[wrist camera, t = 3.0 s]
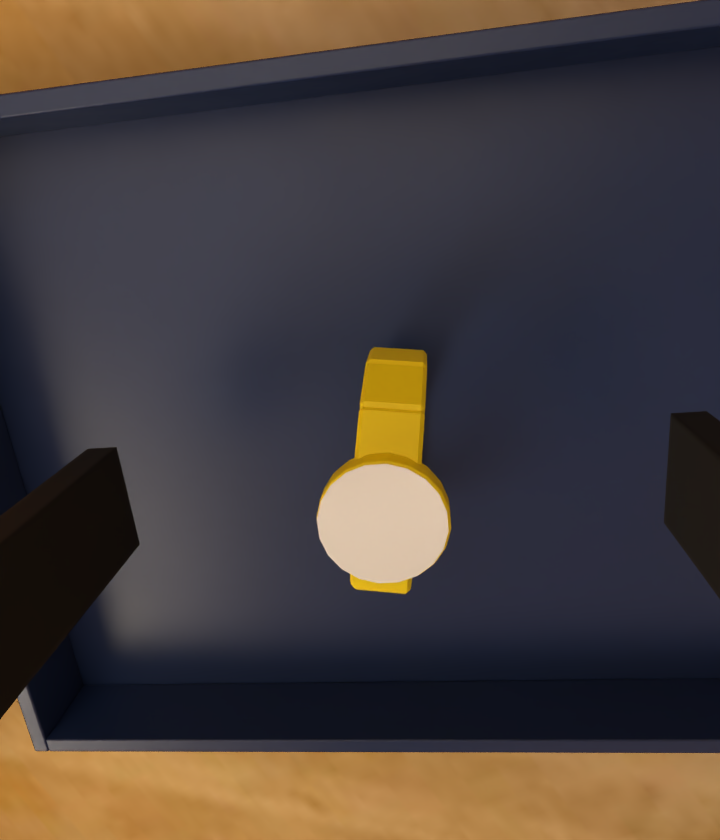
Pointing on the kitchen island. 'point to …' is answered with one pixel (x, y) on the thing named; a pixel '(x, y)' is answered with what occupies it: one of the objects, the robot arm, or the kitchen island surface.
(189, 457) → the tray
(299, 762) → the kitchen island surface
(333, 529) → the watch
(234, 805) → the kitchen island surface
